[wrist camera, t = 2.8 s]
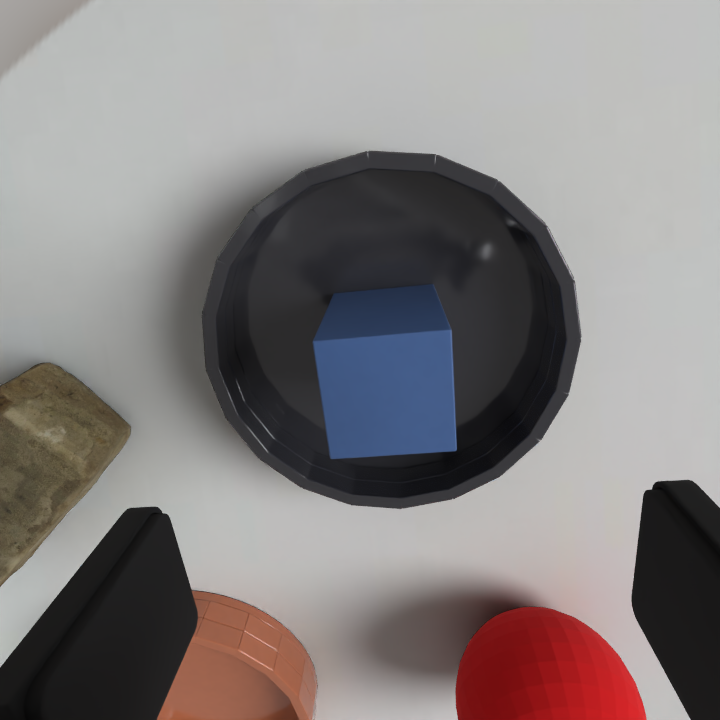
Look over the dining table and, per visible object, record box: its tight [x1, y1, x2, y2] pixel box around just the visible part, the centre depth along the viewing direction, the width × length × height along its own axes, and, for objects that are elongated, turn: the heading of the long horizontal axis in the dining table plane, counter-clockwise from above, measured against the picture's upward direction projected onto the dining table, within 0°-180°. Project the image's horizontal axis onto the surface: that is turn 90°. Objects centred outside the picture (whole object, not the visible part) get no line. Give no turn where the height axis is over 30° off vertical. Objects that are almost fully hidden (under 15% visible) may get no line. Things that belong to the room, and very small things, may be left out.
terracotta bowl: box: [157, 591, 318, 720], centre depth 31 cm, size 15×15×3 cm
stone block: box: [0, 363, 131, 586], centre depth 24 cm, size 6×12×5 cm, turn 138°
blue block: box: [313, 284, 457, 459], centre depth 19 cm, size 4×4×6 cm
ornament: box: [456, 607, 646, 720], centre depth 24 cm, size 9×9×10 cm
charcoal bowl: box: [202, 151, 581, 509], centre depth 21 cm, size 15×15×3 cm
